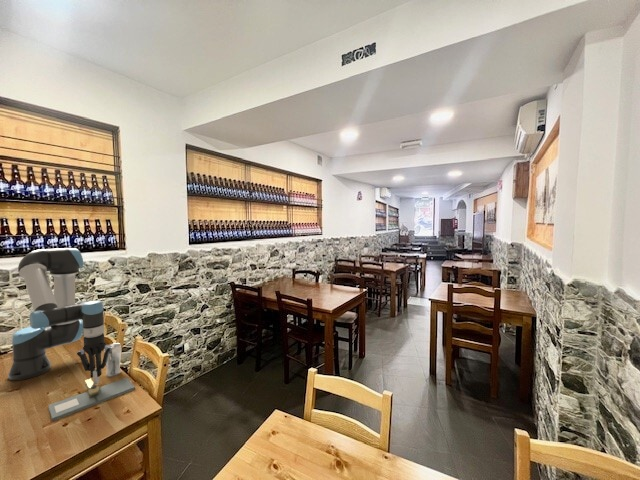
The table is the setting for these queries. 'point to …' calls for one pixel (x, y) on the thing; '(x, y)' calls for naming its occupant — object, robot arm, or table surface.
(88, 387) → the latch bar
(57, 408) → the door board
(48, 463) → the table surface
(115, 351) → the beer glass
